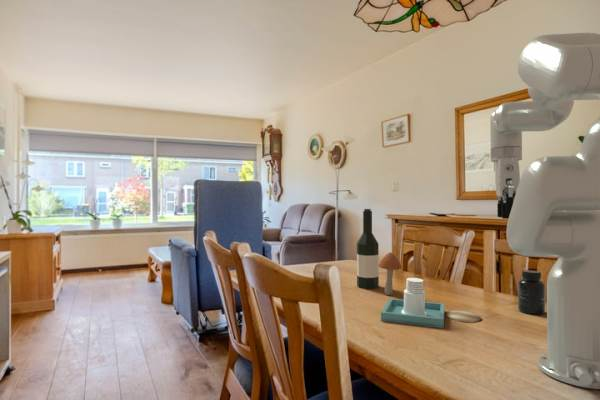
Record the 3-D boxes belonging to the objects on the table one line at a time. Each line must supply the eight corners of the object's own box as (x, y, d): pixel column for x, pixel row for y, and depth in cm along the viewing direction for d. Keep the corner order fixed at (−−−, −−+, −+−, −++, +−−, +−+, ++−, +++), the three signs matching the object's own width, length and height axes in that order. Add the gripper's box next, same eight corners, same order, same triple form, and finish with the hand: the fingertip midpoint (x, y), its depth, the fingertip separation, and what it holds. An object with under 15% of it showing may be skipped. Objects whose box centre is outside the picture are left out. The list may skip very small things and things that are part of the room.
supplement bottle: (549, 316, 106) (549, 274, 106) (523, 314, 107) (523, 273, 108) (539, 309, 113) (539, 269, 113) (514, 308, 114) (514, 269, 114)
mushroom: (406, 296, 128) (406, 253, 128) (387, 298, 125) (387, 254, 125) (392, 291, 136) (392, 250, 136) (374, 293, 133) (374, 251, 133)
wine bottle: (352, 285, 146) (352, 208, 146) (370, 283, 149) (370, 208, 149) (364, 289, 138) (364, 209, 138) (383, 287, 142) (382, 209, 142)
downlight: (395, 311, 109) (396, 277, 108) (415, 308, 111) (416, 275, 111) (412, 320, 101) (413, 284, 101) (433, 317, 104) (434, 282, 103)
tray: (443, 328, 96) (443, 319, 96) (381, 320, 102) (381, 312, 102) (444, 311, 111) (444, 303, 111) (389, 305, 117) (389, 298, 117)
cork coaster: (481, 323, 99) (481, 321, 99) (445, 319, 103) (445, 318, 103) (479, 314, 108) (479, 312, 108) (446, 310, 111) (446, 309, 111)
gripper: (528, 150, 92) (528, 219, 92) (516, 158, 108) (516, 217, 108) (494, 152, 95) (494, 219, 95) (487, 159, 111) (487, 216, 111)
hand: (506, 217), depth 101 cm, fingers open, 9 cm apart
